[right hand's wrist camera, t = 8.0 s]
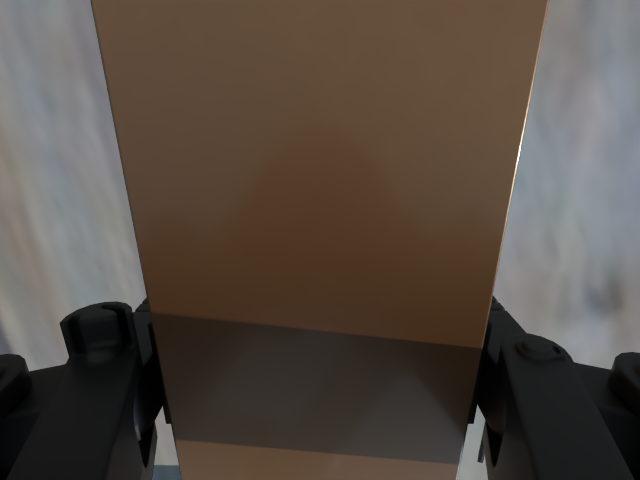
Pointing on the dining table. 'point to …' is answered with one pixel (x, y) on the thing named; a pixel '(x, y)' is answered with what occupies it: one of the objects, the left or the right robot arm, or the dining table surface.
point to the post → (319, 219)
